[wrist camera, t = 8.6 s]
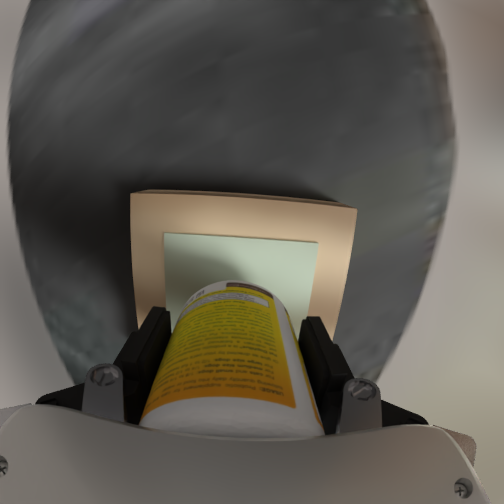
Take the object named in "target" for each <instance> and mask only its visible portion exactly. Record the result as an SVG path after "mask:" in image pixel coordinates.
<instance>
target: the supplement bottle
mask: <svg viewBox="0 0 504 504" xmlns="http://www.w3.org/2000/svg"><path fill="white" fill-rule="evenodd" d="M139 426H144V427H149V428H155V429H160V430H166V431H173V432H180V433H188V434H196V435H206V436H218V437H234V438H293V437H309V436H321V435H325V433H324V429H323V426H322V422H321V419H320V415H319V412H318V408H317V405H316V401H315V398H314V394H313V391H312V388H311V384H310V381H309V377H308V374H307V371H306V367H305V363H304V360H303V357H302V354H301V351H300V347H299V344H298V341H297V337H296V334H295V331H294V328H293V325H292V322H291V319H290V316H289V314H288V312H287V310H286V308H285V306H284V305H283V303H282V302H281V301H280V300H279V299H278V298H277V297H276V296H275V295H274V294H273V293H271V292H270V291H269V290H267V289H265V288H263V287H261V286H259V285H256V284H254V283H250V282H246V281H239V280H227V281H221V282H216V283H213V284H210V285H208V286H206V287H204V288H202V289H200V290H199V291H197V292H196V293H195V294H194V295H192V296H191V298H190V299H189V300H188V301H187V302H186V304H185V305H184V307H183V309H182V310H181V312H180V315H179V317H178V320H177V322H176V325H175V327H174V330H173V332H172V335H171V338H170V340H169V343H168V345H167V348H166V350H165V353H164V356H163V358H162V361H161V363H160V366H159V369H158V371H157V374H156V377H155V379H154V382H153V385H152V388H151V391H150V394H149V397H148V399H147V402H146V405H145V408H144V411H143V414H142V417H141V420H140V422H139Z"/></svg>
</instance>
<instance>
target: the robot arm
mask: <svg viewBox="0 0 504 504" xmlns="http://www.w3.org/2000/svg"><path fill="white" fill-rule="evenodd" d="M171 335H172V330H171V316H170V311H166V308H165V307H157V306H153V307H152V308H151V310H150V312H149V313H148V315H147V316H146V318H145V320H144V321H143V323H142V325H141V326H140V328H139V330H138V331H137V332H132V333H131V335H130V336H129V338H128V340H127V341H126V343H125V345H124V346H123V348H122V349H121V351H120V353H119V354H118V356H117V358H116V359H115V361H114V363H113V365H112V364H106V363H105V364H99V365H96V366H94V367H92V368H90V370H89V371H88V372H87V375H86V379H85V383H82V384H79V385H76V386H73V387H70V388H66V389H63V390H60V391H56V392H53V393H49V394H46V395H44V396H42V397H40V398H39V399H38V400H37V402H36V403H35V405H32V404H31V403H29V404H24V405H19V406H14V407H9V408H4V409H0V504H491V502H490V500H489V498H488V496H487V494H486V492H485V490H484V488H483V486H482V484H481V482H480V480H479V478H478V476H477V474H476V472H475V470H474V468H473V466H474V460H475V454H476V443H475V441H474V439H473V438H472V437H470V436H468V435H465V434H461V433H458V432H454V431H451V430H448V429H444V428H441V427H438V426H435V425H433V426H430V425H429V424H428V422H427V421H426V420H425V419H424V418H423V417H421V416H420V415H418V414H415V413H412V412H410V411H407V410H405V409H402V408H400V407H398V406H395V405H393V404H390V403H388V402H386V401H383V400H381V396H380V390H379V388H378V387H377V385H376V384H375V383H373V382H372V381H370V380H368V379H363V378H354V376H353V374H352V372H351V370H350V368H349V366H348V364H347V362H346V360H345V358H344V356H343V354H342V352H341V350H340V348H339V346H338V345H337V344H333V342H332V340H331V338H330V336H329V334H328V332H327V330H326V328H325V326H324V324H323V322H322V320H321V318H320V316H307V317H306V319H303V320H302V322H301V327H300V333H299V338H298V344H299V347H300V351H301V354H302V357H303V360H304V363H305V367H306V371H307V374H308V377H309V381H310V384H311V388H312V391H313V394H314V398H315V401H316V405H317V408H318V412H319V415H320V419H321V422H322V426H323V429H324V433H325V435H321V436H309V437H293V438H234V437H218V436H206V435H196V434H188V433H180V432H173V431H166V430H160V429H155V428H149V427H144V426H139V422H140V420H141V417H142V414H143V411H144V408H145V405H146V402H147V399H148V397H149V394H150V391H151V388H152V385H153V382H154V379H155V377H156V374H157V371H158V369H159V366H160V363H161V361H162V358H163V356H164V353H165V350H166V348H167V345H168V343H169V340H170V338H171Z"/></svg>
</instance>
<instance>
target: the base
mask: <svg viewBox="0 0 504 504" xmlns="http://www.w3.org/2000/svg"><path fill="white" fill-rule="evenodd" d="M356 216H357V209H356V208H353V207H350V206H348V205H345V204H342V203H338V202H330V201H321V200H312V199H303V198H293V197H282V196H270V195H258V194H244V193H228V192H210V191H187V190H144V191H140V192H135V193H131V202H130V218H131V253H132V270H133V283H134V294H135V304H136V313H137V321H138V328H140V326H141V325H142V323H143V321H144V320H145V318H146V316H147V315H148V313H149V312H150V310H151V308H152V307H153V306H157V307H165V308H166V311H170V316H171V330H172V332H173V330H174V327H175V325H176V322H177V320H178V317H179V315H180V312H181V310H182V309H183V307H184V305H185V304H186V302H187V301H188V300H189V299H190V298H191V296H192V295H194V294H195V293H196V292H197V291H199V290H200V289H202V288H204V287H206V286H208V285H210V284H213V283H216V282H221V281H227V280H239V281H246V282H250V283H254V284H256V285H259V286H261V287H263V288H265V289H267V290H269V291H270V292H271V293H273V294H274V295H275V296H276V297H277V298H278V299H279V300H280V301H281V302H282V303H283V305H284V306H285V308H286V310H287V312H288V314H289V316H290V319H291V322H292V325H293V328H294V331H295V334H296V337H297V341H298V338H299V333H300V327H301V322H302V320H303V319H306V317H307V316H320V318H321V320H322V322H323V324H324V326H325V328H326V330H327V332H328V334H329V336H330V338H331V340H332V339H333V335H334V331H335V327H336V323H337V319H338V315H339V310H340V306H341V301H342V297H343V292H344V287H345V282H346V277H347V272H348V266H349V261H350V255H351V249H352V243H353V237H354V230H355V224H356Z"/></svg>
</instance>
